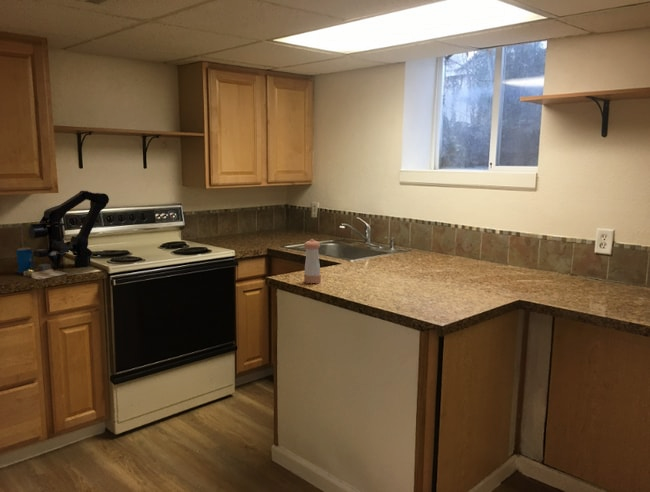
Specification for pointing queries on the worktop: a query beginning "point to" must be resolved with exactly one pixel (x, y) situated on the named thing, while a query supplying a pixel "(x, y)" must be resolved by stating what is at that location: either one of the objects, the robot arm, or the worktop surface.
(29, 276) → the brass knob strip
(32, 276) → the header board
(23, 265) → the beverage can
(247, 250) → the worktop surface
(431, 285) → the worktop surface
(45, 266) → the block
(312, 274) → the pepper shaker
